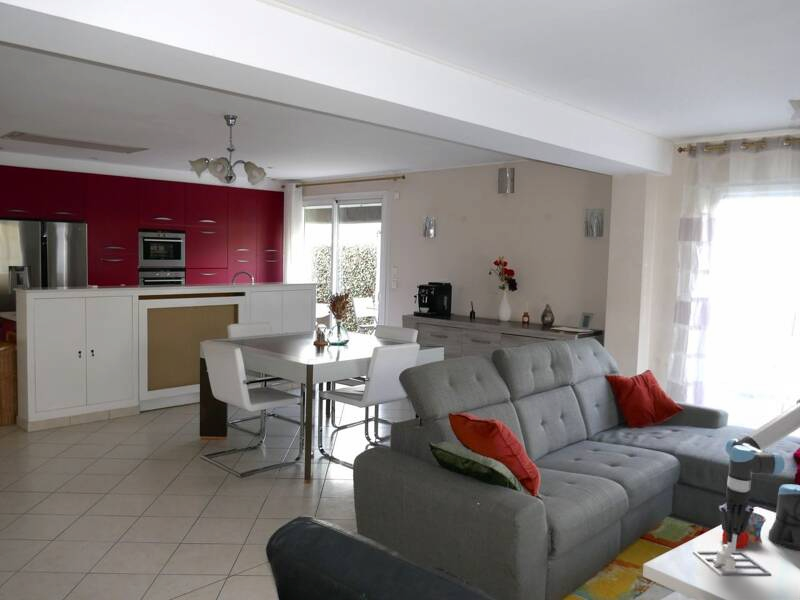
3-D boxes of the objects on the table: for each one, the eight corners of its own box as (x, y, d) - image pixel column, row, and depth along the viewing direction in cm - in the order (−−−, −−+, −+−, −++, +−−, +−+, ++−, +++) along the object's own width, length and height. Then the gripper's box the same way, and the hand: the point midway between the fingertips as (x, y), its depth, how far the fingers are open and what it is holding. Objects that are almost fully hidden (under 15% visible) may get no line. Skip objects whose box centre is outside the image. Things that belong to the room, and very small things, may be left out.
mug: (756, 549, 247) (759, 523, 246) (732, 539, 254) (734, 513, 253) (770, 542, 254) (773, 516, 253) (746, 533, 261) (749, 508, 260)
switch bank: (742, 556, 240) (742, 551, 239) (771, 579, 224) (772, 573, 224) (692, 556, 237) (692, 551, 237) (718, 579, 221) (719, 573, 221)
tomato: (733, 540, 254) (735, 522, 253) (752, 551, 245) (754, 532, 245) (715, 543, 250) (717, 524, 250) (734, 553, 242) (736, 534, 241)
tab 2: (728, 554, 237) (729, 543, 237) (734, 559, 234) (735, 548, 234) (718, 554, 237) (719, 543, 237) (723, 559, 234) (725, 548, 233)
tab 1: (723, 561, 232) (724, 550, 231) (728, 566, 228) (730, 555, 228) (712, 561, 231) (714, 550, 231) (718, 566, 228) (719, 555, 228)
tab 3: (731, 568, 227) (733, 557, 226) (737, 573, 224) (739, 562, 223) (721, 568, 226) (722, 557, 226) (727, 573, 223) (728, 562, 223)
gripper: (748, 485, 238) (740, 545, 240) (715, 484, 236) (708, 545, 238) (761, 492, 230) (754, 555, 232) (728, 492, 229) (720, 555, 231)
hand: (731, 550), depth 235 cm, fingers closed
